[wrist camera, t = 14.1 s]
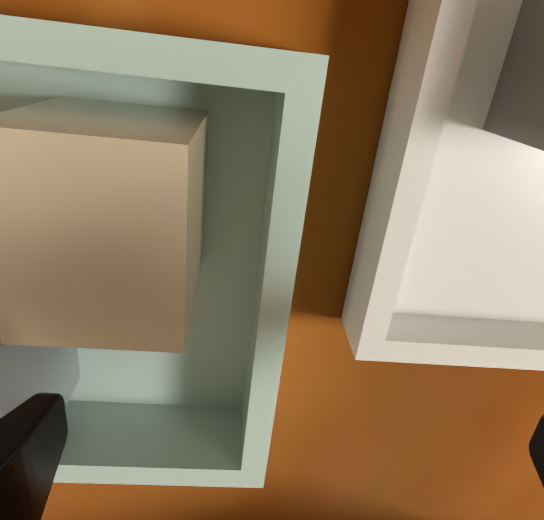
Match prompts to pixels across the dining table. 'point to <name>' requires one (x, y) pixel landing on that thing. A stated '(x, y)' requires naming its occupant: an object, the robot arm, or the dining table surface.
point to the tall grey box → (36, 373)
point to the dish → (216, 249)
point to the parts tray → (450, 206)
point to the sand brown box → (101, 224)
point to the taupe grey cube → (521, 82)
